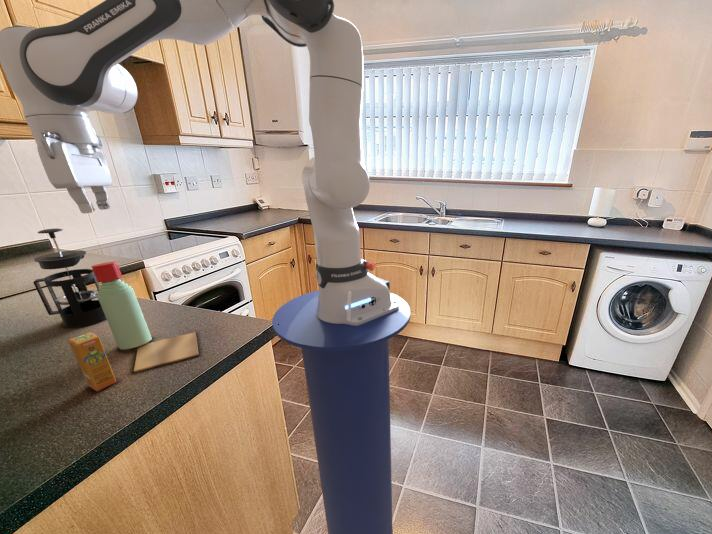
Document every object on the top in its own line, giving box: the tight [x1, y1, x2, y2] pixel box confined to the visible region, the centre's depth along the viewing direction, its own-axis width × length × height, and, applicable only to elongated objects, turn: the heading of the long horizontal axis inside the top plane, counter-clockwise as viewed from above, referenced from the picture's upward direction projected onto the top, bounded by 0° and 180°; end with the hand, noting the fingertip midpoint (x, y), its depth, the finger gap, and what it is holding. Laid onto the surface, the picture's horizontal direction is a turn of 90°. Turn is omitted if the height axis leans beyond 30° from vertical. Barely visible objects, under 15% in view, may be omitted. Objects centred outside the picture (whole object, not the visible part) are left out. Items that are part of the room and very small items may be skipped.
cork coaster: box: [133, 331, 200, 373], centre depth 72 cm, size 11×11×1 cm
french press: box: [32, 227, 107, 329], centre depth 81 cm, size 12×9×23 cm
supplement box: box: [67, 331, 117, 392], centre depth 60 cm, size 3×3×10 cm
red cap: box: [91, 261, 123, 283], centre depth 69 cm, size 4×4×3 cm
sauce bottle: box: [96, 278, 153, 350], centre depth 72 cm, size 6×6×18 cm
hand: (97, 211), depth 68 cm, fingers open, 8 cm apart
